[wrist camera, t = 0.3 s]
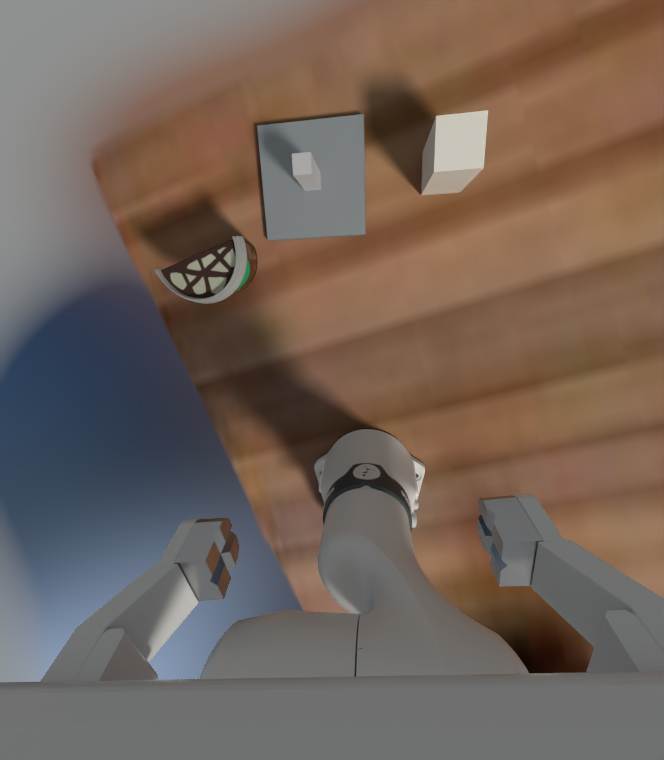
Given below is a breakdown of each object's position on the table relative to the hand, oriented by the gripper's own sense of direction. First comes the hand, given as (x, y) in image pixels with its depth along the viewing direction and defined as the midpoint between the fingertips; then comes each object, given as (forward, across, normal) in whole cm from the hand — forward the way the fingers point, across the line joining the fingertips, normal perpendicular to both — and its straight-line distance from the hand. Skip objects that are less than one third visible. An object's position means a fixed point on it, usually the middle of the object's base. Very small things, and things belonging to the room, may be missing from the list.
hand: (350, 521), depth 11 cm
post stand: (+45, -3, +14) cm, 47 cm away
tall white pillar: (+44, +14, +12) cm, 48 cm away
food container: (+44, -17, +4) cm, 47 cm away
